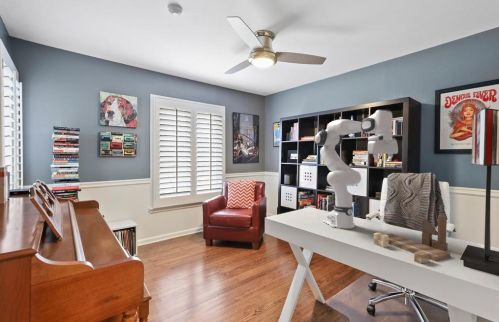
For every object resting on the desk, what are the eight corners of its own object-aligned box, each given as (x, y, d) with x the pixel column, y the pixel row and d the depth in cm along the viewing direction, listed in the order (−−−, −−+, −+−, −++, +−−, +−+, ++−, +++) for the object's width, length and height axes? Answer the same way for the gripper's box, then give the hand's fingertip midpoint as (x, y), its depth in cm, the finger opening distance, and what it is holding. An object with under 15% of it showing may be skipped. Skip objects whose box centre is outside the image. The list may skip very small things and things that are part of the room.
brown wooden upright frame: (424, 243, 138) (425, 211, 137) (447, 250, 128) (448, 216, 128) (421, 244, 136) (422, 212, 135) (444, 251, 126) (445, 216, 126)
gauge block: (373, 243, 137) (373, 232, 137) (378, 242, 139) (379, 232, 139) (383, 247, 132) (383, 236, 131) (388, 246, 133) (388, 235, 133)
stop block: (414, 261, 115) (414, 252, 115) (422, 258, 117) (422, 250, 117) (420, 263, 112) (420, 255, 112) (429, 261, 114) (429, 253, 114)
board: (376, 239, 145) (376, 235, 145) (391, 236, 149) (391, 233, 149) (434, 260, 115) (434, 256, 115) (450, 257, 120) (450, 253, 120)
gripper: (391, 138, 147) (390, 161, 148) (365, 137, 140) (365, 161, 140) (401, 137, 141) (400, 161, 142) (375, 136, 134) (374, 162, 134)
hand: (383, 161), depth 141 cm, fingers open, 8 cm apart
